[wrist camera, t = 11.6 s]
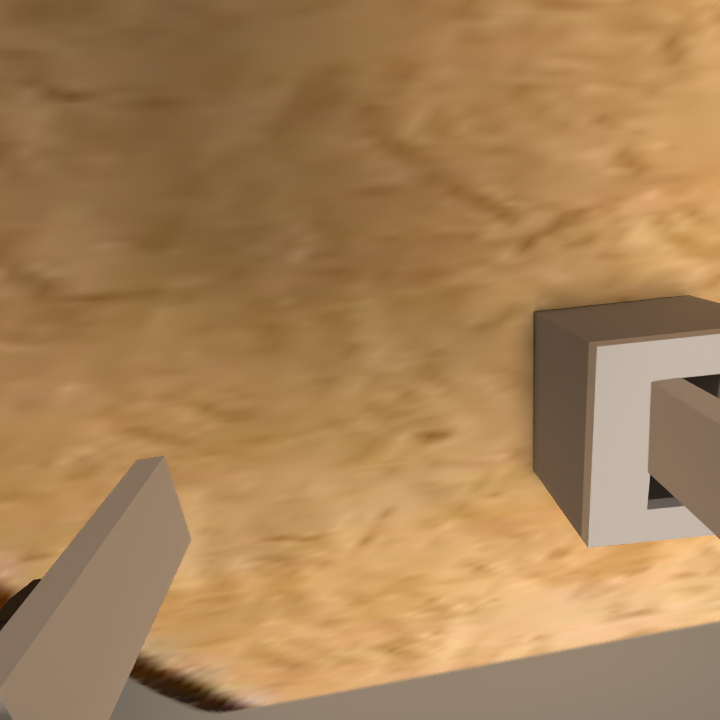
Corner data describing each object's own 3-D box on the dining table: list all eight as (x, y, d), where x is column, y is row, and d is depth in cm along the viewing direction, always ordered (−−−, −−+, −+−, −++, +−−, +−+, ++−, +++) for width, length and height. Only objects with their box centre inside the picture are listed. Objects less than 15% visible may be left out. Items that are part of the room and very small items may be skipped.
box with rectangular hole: (534, 311, 38) (596, 346, 28) (688, 295, 38) (803, 324, 28) (533, 470, 42) (588, 547, 33) (672, 456, 42) (768, 529, 32)
